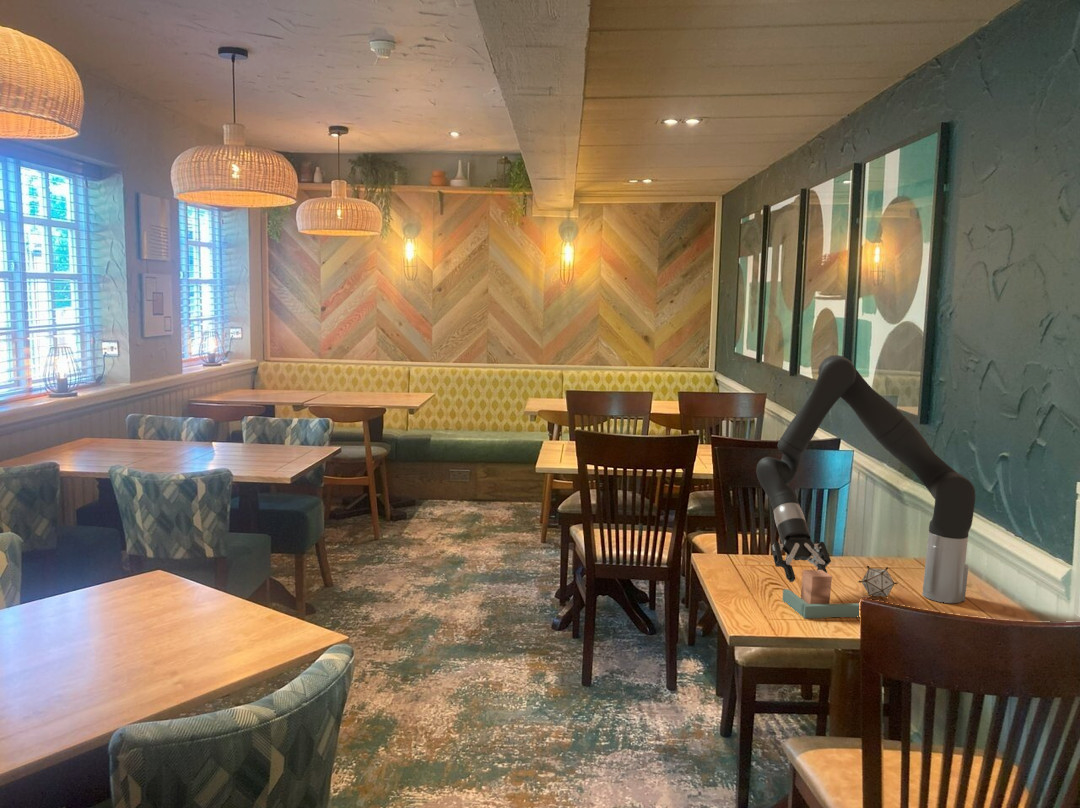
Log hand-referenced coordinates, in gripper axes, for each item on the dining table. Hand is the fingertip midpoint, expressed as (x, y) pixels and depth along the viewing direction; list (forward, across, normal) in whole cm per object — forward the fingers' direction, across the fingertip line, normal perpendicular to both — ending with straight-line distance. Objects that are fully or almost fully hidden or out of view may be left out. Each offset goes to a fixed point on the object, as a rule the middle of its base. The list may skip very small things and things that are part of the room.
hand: (808, 580), depth 199 cm
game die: (+2, +22, +7) cm, 23 cm away
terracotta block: (+7, 0, +1) cm, 7 cm away
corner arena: (+7, +3, +2) cm, 7 cm away
